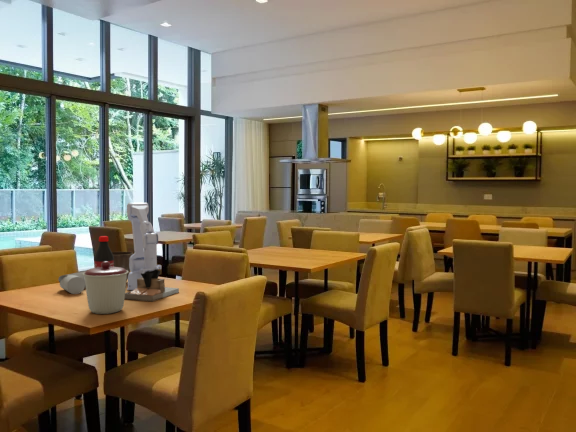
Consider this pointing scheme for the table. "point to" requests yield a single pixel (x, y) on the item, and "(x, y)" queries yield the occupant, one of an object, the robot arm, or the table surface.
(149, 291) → the tile right
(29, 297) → the table surface
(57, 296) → the table surface
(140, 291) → the tile left
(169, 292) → the slate board
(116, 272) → the canister
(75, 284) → the bent grey cylinder
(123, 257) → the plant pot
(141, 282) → the brown wooden block
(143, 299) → the tray
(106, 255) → the cola bottle
